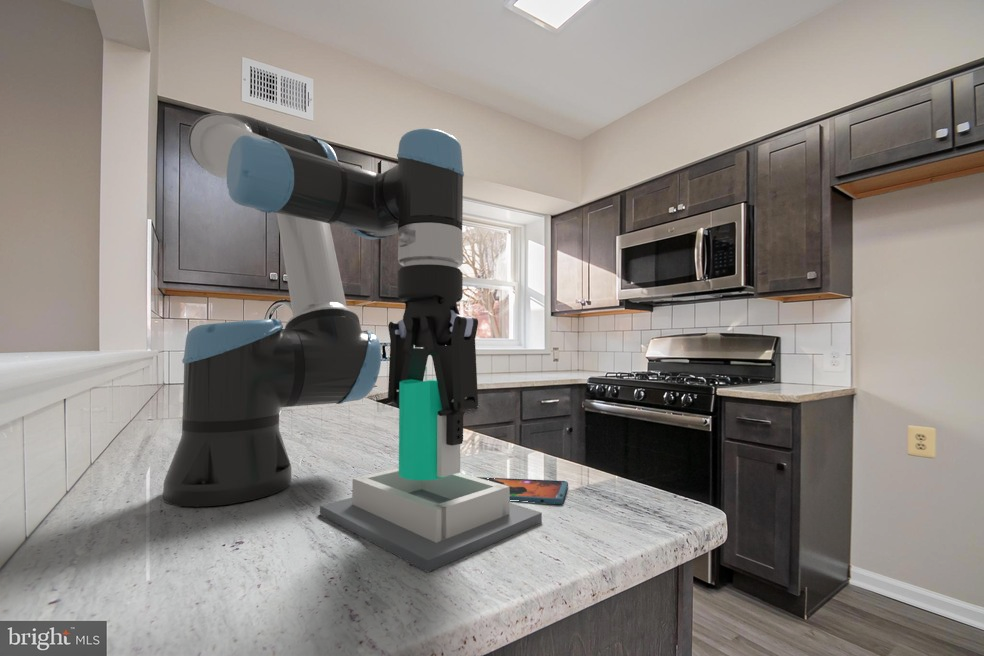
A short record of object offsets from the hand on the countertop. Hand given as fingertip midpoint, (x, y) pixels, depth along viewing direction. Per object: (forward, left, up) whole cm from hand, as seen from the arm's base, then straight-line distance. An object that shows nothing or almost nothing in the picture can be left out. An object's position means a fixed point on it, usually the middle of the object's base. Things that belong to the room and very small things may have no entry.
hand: (429, 468), depth 52 cm
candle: (0, -1, -1) cm, 1 cm away
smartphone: (0, +14, -6) cm, 15 cm away
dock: (0, 0, -6) cm, 6 cm away
